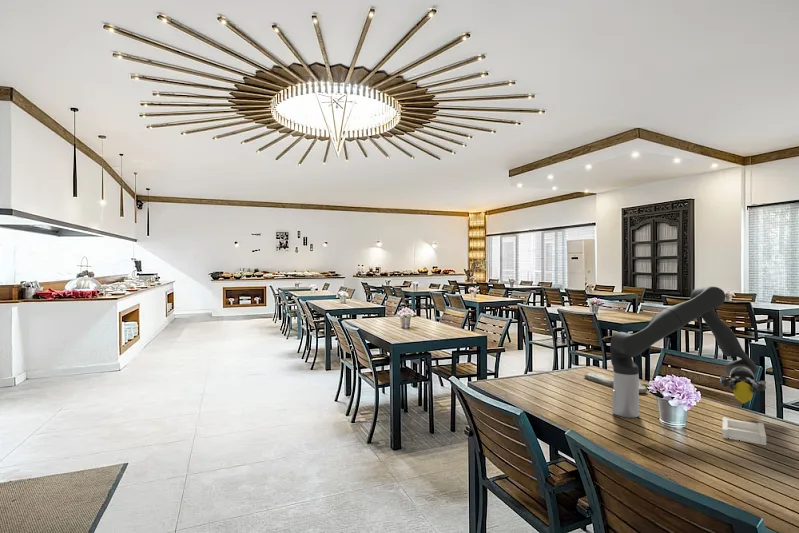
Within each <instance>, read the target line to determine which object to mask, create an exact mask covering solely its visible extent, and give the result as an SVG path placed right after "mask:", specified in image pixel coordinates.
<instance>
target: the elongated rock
mask: <svg viewBox="0 0 799 533" xmlns="http://www.w3.org/2000/svg"><path fill="white" fill-rule="evenodd" d="M583 376H584V379H586V380H589V381H592V382H595V383H597V384H600V385H604V386H606V387H607V386H608V387H611V388H614V377H612V376H607V375H604V374H600V373H596V372H586V373H584V375H583ZM645 393H648V388H647V387H646V385H644V384H643V383H642V382H640V381H639V394H645Z"/></svg>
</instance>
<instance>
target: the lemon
mask: <svg viewBox="0 0 799 533" xmlns="http://www.w3.org/2000/svg"><path fill="white" fill-rule="evenodd" d="M732 391H733V396H734V398H735V399H736V400H737V401H739V402H741V403H742V404H745V403H747V402H750V401H751V400H753V399H752V398H753V397H754V395H753V394H754V393H753V391H752V388H751V386H750V385H749V384H747V383H745V382H744V381H741V382H738V383H737V384H735V386H734V390H732Z"/></svg>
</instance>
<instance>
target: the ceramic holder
mask: <svg viewBox="0 0 799 533" xmlns="http://www.w3.org/2000/svg"><path fill="white" fill-rule="evenodd" d="M764 424H765V423H764V422H758V423H757V422H752V421H744V420H743V421H742V420H737V419H732V418H731V419H730V418H728V417H725V416H722V427H721V428H722V429H721V432H722V433H721V434H722V437H723V438H722V439H728V438H729V439H730V440H733V439H734V441H739V440H740V442H745V443H751V444H755V445H756V444H757V445H763V446H767V435H766V430H765V425H764Z"/></svg>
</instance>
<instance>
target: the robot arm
mask: <svg viewBox="0 0 799 533" xmlns="http://www.w3.org/2000/svg"><path fill="white" fill-rule="evenodd" d="M689 298H690V299H689V300H686V301H684V302H680V303H678V304H675V305H672V306H669V307H666V308H665V309H663V310H661V311H660V312H658V313H657V314H655V315H654V316H653V317H652V318H651V319H650V321H649V323H648V325H647V326H646V327H644V328H643V329H641V330H639V331H637V332H634V333H628V332H624V331H617V332H616V333H614V334H613V335H612V337H611V340H610V346H609V348H610V350H609V351H610V361H611V362H610V363H611V366H612V368H613V378H614V387H613V389H612V398H611V399H612V400H611V401H612V414H613V415H616V416H619V417H623V418H629V419H630V418H638V417H639V416H640V393H639V382H640V380H639V379H640V378H639V377H640V376H639V371H640V370H639V366H638V365H637V364H636V363H635V361H634V360H633V358H636V357H637V356H639V355H641V354H642V353H644V352H645V351H646V350H648V349H649V348H650V347H651V346H653V345H654V344H656V343H657V342H659V341H661V340H662V339H664V338H666V337H668V336H669V335H671V334H672V333H676V331H679V330H680V329H681V328H683V327H684V326H686V325H688V324H689V323H691V322H692V321H694V320H697V318H698V317H701V318H702V319H703V321H704V322H705V324H706V326H708V328H709V330H710V331H711V334H712V335H713V337H714V338H715V341H716V343H717V345H718V347H719V348H720V350H721V352H722V354H723V356H725V357H728V358H729V357H730V358H732V357H736V358H740V359H736V360H731V361H729V362H727V363H726V364H725V365H724V369H725V372H726V373H727V376H729V377H727V376H726V377H725V376H723V375H720V377H719V383H720V384H721V386H722V387H728V388H729V389H730V390H732V391H733V390H734V386H735V384H737V383H738V382H741V381H744V382H745V383H747V384H749V385H750V386H751V388H752V391H753V394H754V393H757V392H758V391H760V392H764V391H765V390H767V381H766V380H759V381H757V380H756V379H755V375H757V373H758V370H759V369H758V366H757V364H756V363H755V361H753V359H752V358H750V356H748V354H747V353H746V351H744V349H743V347H742V345H741V344H740V342H739V339H738V338H737V336H736V333H735V332H734V331H733V330H732V328H730V327H729V326H728V325H727V324H726V323H725V322H724V321H723V320H722V318H720V316H719V315H718V314H717V312H716V311H715V310H716V309H718V308H720V307H721V306H722V305H723V304H724V303H725V300H726V293H725V292H724V290H723V289H722V288H720V287H718V286H712V285H711V286H705V287H698V288H695V289H692V292H690V296H689Z"/></svg>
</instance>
